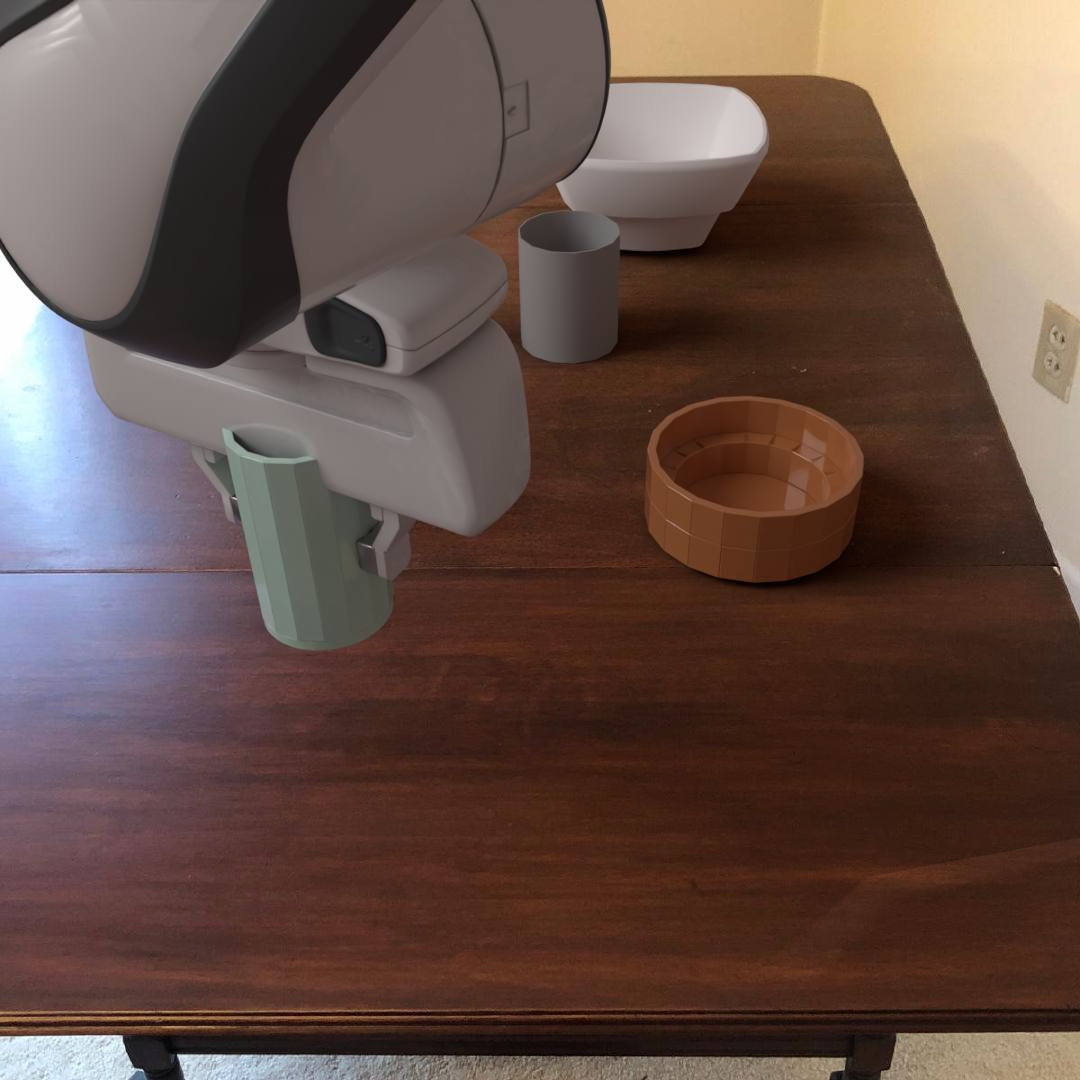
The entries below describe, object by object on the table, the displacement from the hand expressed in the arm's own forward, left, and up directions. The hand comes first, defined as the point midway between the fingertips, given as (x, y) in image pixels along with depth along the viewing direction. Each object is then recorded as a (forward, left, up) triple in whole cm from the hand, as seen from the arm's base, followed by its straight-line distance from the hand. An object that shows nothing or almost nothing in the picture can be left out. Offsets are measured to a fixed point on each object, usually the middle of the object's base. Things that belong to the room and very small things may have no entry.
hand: (319, 543), depth 54 cm
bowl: (+43, -63, -19) cm, 78 cm away
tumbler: (0, 0, -4) cm, 4 cm away
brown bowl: (+4, -35, -19) cm, 40 cm away
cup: (+32, -43, -19) cm, 57 cm away
